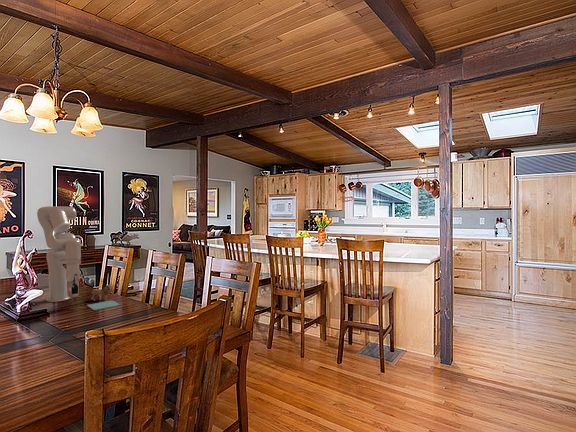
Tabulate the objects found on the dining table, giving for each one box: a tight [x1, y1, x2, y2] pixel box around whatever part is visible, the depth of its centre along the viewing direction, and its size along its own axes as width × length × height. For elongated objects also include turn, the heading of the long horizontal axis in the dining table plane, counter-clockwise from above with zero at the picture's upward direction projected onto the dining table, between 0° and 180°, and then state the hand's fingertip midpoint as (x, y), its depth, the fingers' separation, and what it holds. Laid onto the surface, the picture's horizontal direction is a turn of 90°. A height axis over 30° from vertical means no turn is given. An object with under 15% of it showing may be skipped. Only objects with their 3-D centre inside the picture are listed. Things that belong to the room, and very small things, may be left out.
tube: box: [67, 280, 80, 298], centre depth 199 cm, size 5×5×10 cm
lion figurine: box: [86, 284, 114, 302], centre depth 215 cm, size 15×5×9 cm, turn 105°
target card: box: [86, 300, 121, 311], centre depth 203 cm, size 14×14×1 cm
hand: (73, 292), depth 199 cm, fingers closed on tube, 5 cm apart
